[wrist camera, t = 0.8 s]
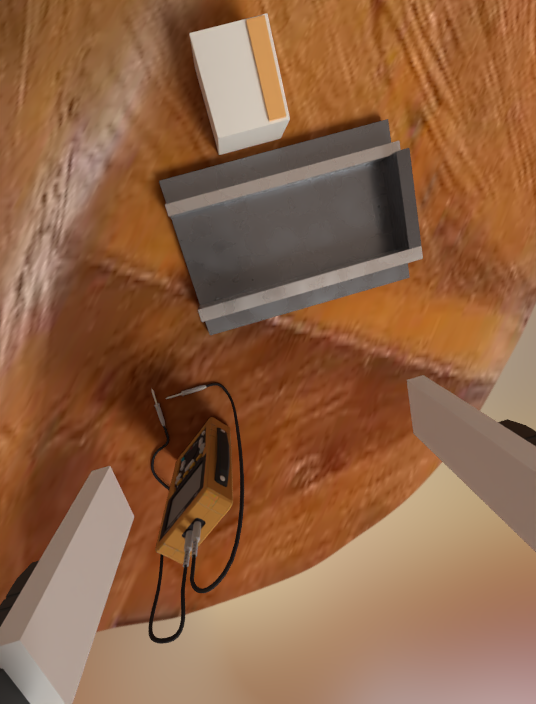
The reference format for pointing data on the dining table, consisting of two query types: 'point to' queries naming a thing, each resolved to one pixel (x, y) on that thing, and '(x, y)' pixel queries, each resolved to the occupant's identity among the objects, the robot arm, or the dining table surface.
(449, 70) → the dining table surface
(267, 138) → the block
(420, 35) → the dining table surface
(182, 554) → the multimeter
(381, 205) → the rail base
